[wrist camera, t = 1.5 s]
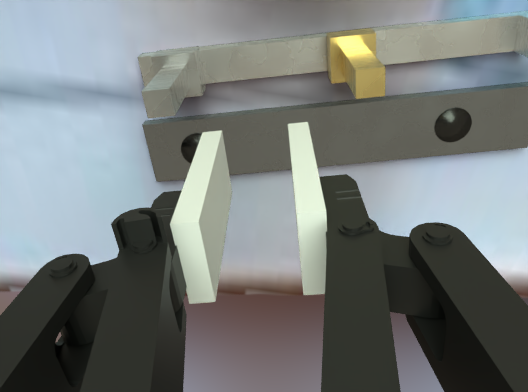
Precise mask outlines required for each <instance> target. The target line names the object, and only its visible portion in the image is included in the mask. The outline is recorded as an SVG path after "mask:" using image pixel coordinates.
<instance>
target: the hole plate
mask: <svg viewBox="0 0 528 392" xmlns="http://www.w3.org/2000/svg"><path fill="white" fill-rule="evenodd" d="M302 122H308V125H309V130H310V135H311V140H312V145H313V150H314V154H315V159H316V164H317V167H322V166H333V165H344V164H354V163H365V162H376V161H387V160H398V159H408V158H419V157H430V156H441V155H452V154H462V153H473V152H484V151H495V150H506V149H516V148H527V147H528V82H524V83H514V84H504V85H494V86H484V87H474V88H464V89H455V90H445V91H435V92H425V93H415V94H405V95H395V96H385V97H376V98H366V99H356V100H346V101H336V102H326V103H316V104H306V105H297V106H287V107H277V108H267V109H257V110H247V111H237V112H227V113H218V114H208V115H198V116H188V117H178V118H168V119H158V120H148V121H145V122H144V124H143V129H144V133H145V137H146V141H147V145H148V149H149V153H150V157H151V161H152V165H153V169H154V173H155V177H156V181H157V182H160V181H171V180H181V179H186V178H187V175H188V172H189V169H190V166H191V164H192V161H193V158H194V155H195V152H196V149H197V147H198V144H199V141H200V138H201V135H202V133H203V132H211V131H221V130H222V133H223V139H224V145H225V152H226V158H227V164H228V170H229V175H235V174H246V173H257V172H268V171H279V170H289V169H292V165H291V154H290V143H289V131H288V124H292V123H302Z"/></svg>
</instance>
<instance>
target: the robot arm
mask: <svg viewBox="0 0 528 392" xmlns="http://www.w3.org/2000/svg"><path fill="white" fill-rule="evenodd" d="M288 131H289V143H290V154H291V165H292V177H293V188H294V199H295V209H296V220H297V231H298V241H299V252H300V263H301V273H302V284H303V295H313V294H325V305H324V332H323V357H322V383H321V392H400V384H399V378H398V370H397V362H396V355H395V347H394V340H393V333H392V325H391V318H390V312H396V313H401V314H406V318H407V321H408V323H409V325H410V327H411V329H412V331H413V333H414V334H415V336H416V338H417V340H418V342H419V344H420V346H421V348H422V350H423V352H424V354H425V356H426V357H427V359H428V361H429V363H430V365H431V367H432V369H433V371H434V373H435V375H436V376H437V379H438V380H439V382H440V384H441V386H442V388H443V390H444V392H528V306H527V304H526V303H525V302H524V301H523V300H522V299H521V298H520V296H519V295H518V294H517V293H516V292H515V291H514V290H513V288H512V287H511V286H510V285H509V284H508V283H507V282H506V281H505V279H504V278H503V277H502V276H501V275H500V274H499V273H498V271H497V270H496V269H495V268H494V267H493V266H492V265H491V264H490V262H489V261H488V260H487V259H486V258H485V257H484V256H483V254H482V253H481V252H480V251H479V250H478V249H477V248H476V247H475V245H474V244H473V243H472V242H471V241H470V240H469V239H468V237H467V236H466V235H465V234H464V233H463V232H462V231H460V230H459V229H458V228H456V227H453V226H451V225H448V224H444V223H436V222H435V223H425V224H421V225H418V226H416V227H415V228H413V229H412V230H411V233H410V236H409V237H403V236H395V235H390V234H387V233H384V232H381V231H379V228H378V226H377V224H376V223H375V222H374V221H373V220H371V219H370V218H369V217H368V214H367V211H366V208H365V206H364V203H363V200H362V198H361V194H360V191H359V189H358V186H357V183H356V181H355V180H354V179H352V178H351V177H350V176H348V175H347V174H346V175H335V176H324V177H319V174H318V169H317V164H316V159H315V154H314V150H313V145H312V140H311V135H310V130H309V125H308V122H302V123H292V124H288ZM231 197H232V189H231V182H230V176H229V170H228V164H227V158H226V152H225V145H224V139H223V133H222V130H221V131H211V132H203V133H202V135H201V138H200V141H199V144H198V147H197V149H196V152H195V155H194V158H193V161H192V164H191V166H190V169H189V172H188V175H187V178H186V180H185V183H184V186H183V189H182V191H172V192H163V193H162V194H161V195H160V196H159V197H158V198H156V199H155V200H154V202H153V204H152V207H151V208H138V209H134V210H130V211H128V212H125V213H123V214H121V215H120V216H118V217H117V218H116V219H114V221H113V222H112V224H111V225H112V228H113V232H114V235H115V238H116V241H117V244H118V247H119V253H118V257H117V258H115V259H112V260H109V261H106V262H102V263H99V264H95V265H91V264H90V262H89V259H88V257H86V256H85V255H82V254H69V255H63V256H60V257H57V258H55V259H54V260H52V261H50V262H48V263H47V264H46V265H44V266H43V267H42V268H41V269H40V270H39V271H38V272H37V274H36V275H35V276H34V277H33V278H32V279H31V281H30V282H29V283H28V284H27V285H26V286H25V288H24V289H23V290H22V291H21V292H20V293H19V295H18V296H17V297H16V298H15V299H14V300H13V302H12V303H11V304H10V305H9V306H8V307H7V308H6V310H5V311H4V312H3V313H2V314H1V315H0V392H183V379H184V358H185V336H186V311H185V307H184V303H183V299H184V296H185V292H187V296H188V300H189V303H190V304H193V303H206V302H215V300H216V295H217V288H218V282H219V275H220V269H221V262H222V255H223V249H224V242H225V236H226V229H227V223H228V216H229V210H230V203H231ZM59 332H61V335H62V336H61V337H60V339H59V340H58V342H57V343H56V344H55V341H56V338H57V336H58V334H59Z"/></svg>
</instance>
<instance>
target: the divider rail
mask: <svg viewBox="0 0 528 392" xmlns="http://www.w3.org/2000/svg"><path fill="white" fill-rule="evenodd" d="M371 29H372V30H373V31H374V32H376V57H377V59H378V60H379V61H380V62H381V63H382V64H383V65H388V64H398V63H407V62H417V61H426V60H436V59H445V58H455V57H464V56H474V55H483V54H492V53H502V52H511V51H514V52H516V53H519V54H521V55H523V56H525V57H527V58H528V11H519V12H510V13H501V14H491V15H482V16H473V17H464V18H455V19H446V20H437V21H428V22H419V23H410V24H401V25H392V26H383V27H374V28H371ZM138 61H139V65H140V69H141V74H142V78H143V82H144V86H145V88H144V89H143V90H142V96H143V100H144V104H145V108H146V112H147V116H148V118H156V117H166V116H175V115H176V113H177V111H178V109H179V107H180V106H181V104H182V102H183V100H184V98H186V97H195V96H202V95H203V93H204V91H205V89H206V86H205V84H208V83H218V82H227V81H237V80H246V79H256V78H265V77H275V76H284V75H294V74H303V73H312V72H322V71H328V57H327V33H320V34H311V35H302V36H293V37H284V38H275V39H266V40H257V41H248V42H239V43H230V44H221V45H212V46H203V47H199V46H196V47H187V48H178V49H169V50H160V51H156V52H149V53H142V54H141V55H140V56H139V57H138Z"/></svg>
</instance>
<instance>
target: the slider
mask: <svg viewBox="0 0 528 392" xmlns="http://www.w3.org/2000/svg"><path fill="white" fill-rule="evenodd" d="M327 57H328V77H329V79H330V81H331V84H332V83H342V82H347V83H348V85H349V87H350V89H351V91H352V92H353V94H354V96H355V98H356V99H360V98H370V97H380V96H385V66H384V65H383V64H382V63H381V62H380V61H379V60H378V59H377V57H376V32H374V31H373V30H372V29H371V28H365V29H356V30H347V31H338V32H329V33H327Z"/></svg>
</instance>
